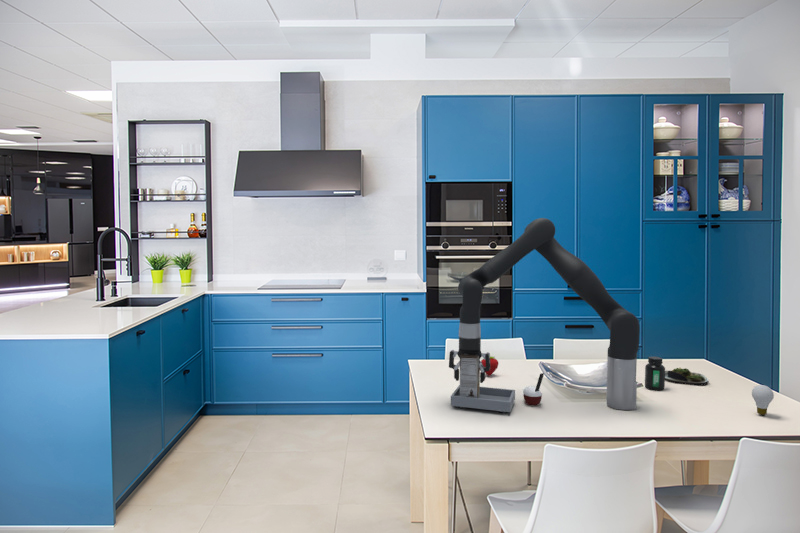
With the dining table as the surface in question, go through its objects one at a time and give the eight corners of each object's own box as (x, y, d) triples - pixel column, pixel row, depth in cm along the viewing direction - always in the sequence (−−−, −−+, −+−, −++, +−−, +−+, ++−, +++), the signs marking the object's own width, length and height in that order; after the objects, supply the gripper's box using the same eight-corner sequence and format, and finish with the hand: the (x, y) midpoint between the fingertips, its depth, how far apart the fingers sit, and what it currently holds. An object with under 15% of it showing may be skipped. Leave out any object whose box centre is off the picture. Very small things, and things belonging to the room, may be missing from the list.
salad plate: (656, 371, 223) (656, 360, 223) (703, 375, 216) (703, 364, 216) (659, 382, 205) (659, 371, 205) (710, 388, 198) (711, 376, 198)
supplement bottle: (659, 392, 192) (660, 361, 191) (641, 388, 197) (642, 357, 196) (667, 388, 196) (668, 358, 195) (649, 384, 201) (650, 354, 201)
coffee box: (461, 394, 184) (462, 349, 183) (479, 395, 182) (480, 350, 181) (459, 402, 175) (459, 355, 174) (478, 403, 173) (478, 356, 172)
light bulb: (751, 411, 171) (752, 381, 171) (773, 414, 168) (774, 385, 167) (749, 415, 167) (751, 385, 166) (772, 419, 163) (773, 389, 163)
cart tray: (515, 402, 180) (515, 389, 180) (510, 415, 167) (510, 402, 167) (459, 396, 187) (459, 384, 187) (450, 409, 174) (450, 396, 173)
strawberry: (500, 377, 211) (500, 354, 211) (482, 378, 211) (482, 354, 210) (496, 373, 217) (496, 350, 217) (479, 374, 217) (479, 351, 216)
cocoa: (520, 401, 183) (519, 368, 182) (537, 400, 183) (536, 367, 183) (528, 409, 173) (527, 374, 173) (546, 408, 174) (545, 373, 173)
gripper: (492, 334, 178) (491, 380, 179) (452, 332, 183) (451, 376, 184) (488, 338, 171) (488, 386, 172) (447, 336, 176) (446, 382, 177)
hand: (469, 381), depth 178 cm, fingers open, 8 cm apart
